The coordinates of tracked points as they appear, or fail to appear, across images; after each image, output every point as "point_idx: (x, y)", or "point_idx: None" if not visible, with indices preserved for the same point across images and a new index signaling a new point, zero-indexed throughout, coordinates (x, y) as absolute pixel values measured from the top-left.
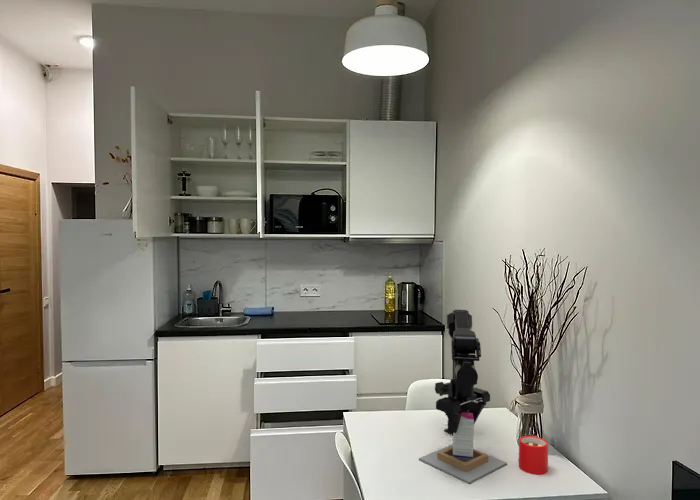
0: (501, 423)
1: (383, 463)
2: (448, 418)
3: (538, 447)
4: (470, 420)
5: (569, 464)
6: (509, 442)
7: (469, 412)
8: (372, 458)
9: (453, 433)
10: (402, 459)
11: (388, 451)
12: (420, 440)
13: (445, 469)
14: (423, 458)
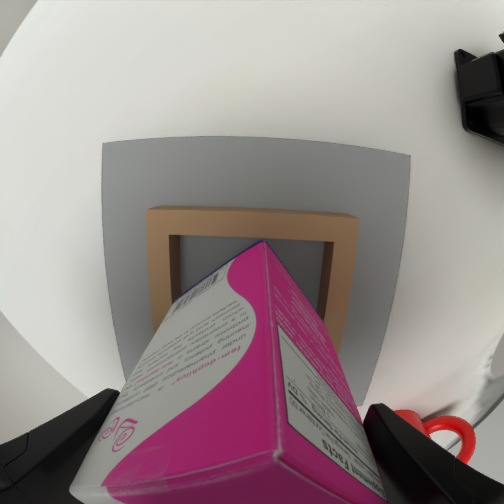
0: None
1: (18, 98)
2: (5, 448)
3: None
4: None
5: (442, 447)
6: None
7: (424, 489)
8: (26, 52)
9: (157, 355)
10: (70, 100)
11: (93, 21)
12: (295, 6)
13: (115, 296)
14: (115, 157)
